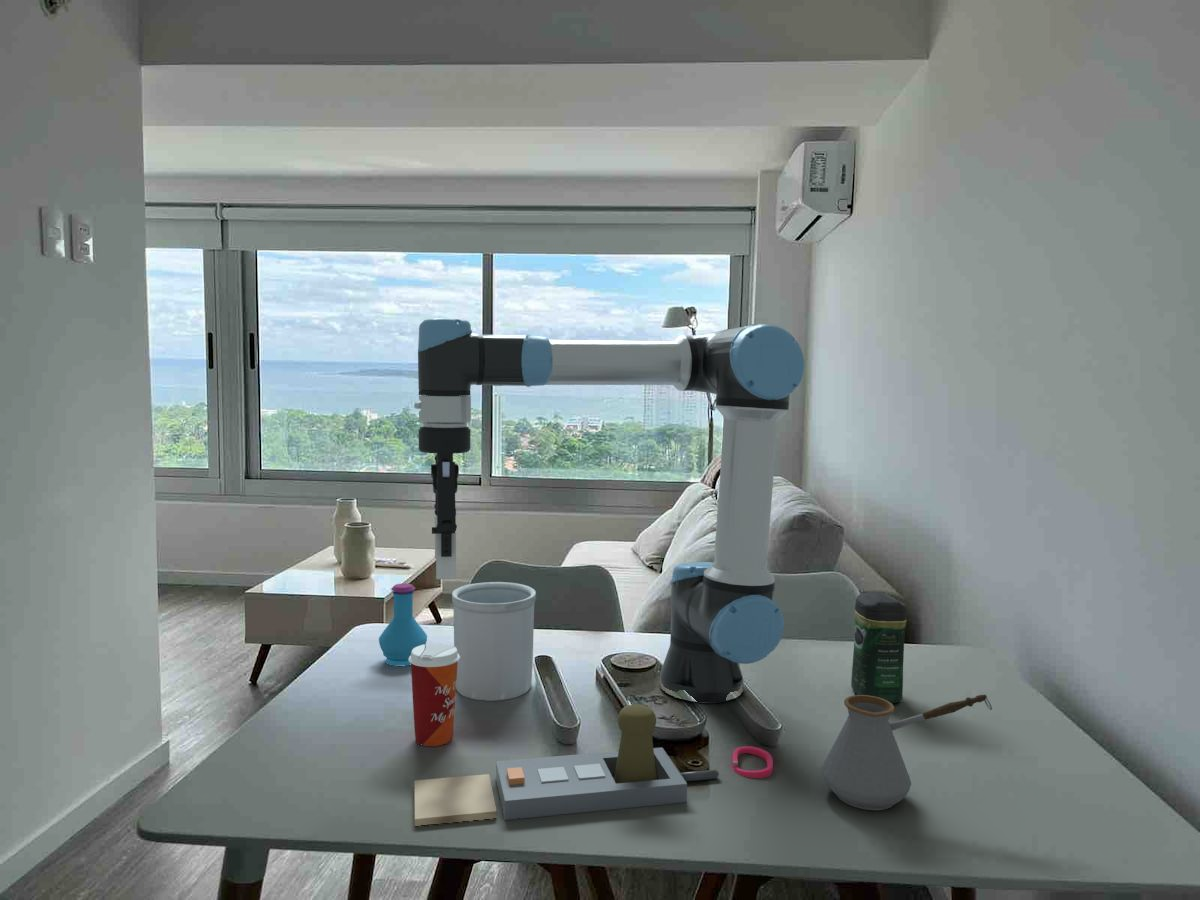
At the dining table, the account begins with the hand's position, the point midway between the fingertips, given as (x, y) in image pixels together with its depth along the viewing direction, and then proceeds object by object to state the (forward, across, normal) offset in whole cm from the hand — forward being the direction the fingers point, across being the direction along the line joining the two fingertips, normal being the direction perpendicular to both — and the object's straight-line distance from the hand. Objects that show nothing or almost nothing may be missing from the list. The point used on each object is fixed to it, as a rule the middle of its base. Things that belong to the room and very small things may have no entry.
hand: (444, 568), depth 122 cm
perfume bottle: (+27, -39, -7) cm, 48 cm away
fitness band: (+28, +14, +44) cm, 54 cm away
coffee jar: (+28, -7, +76) cm, 82 cm away
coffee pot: (+28, +27, +60) cm, 71 cm away
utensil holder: (+27, -22, +9) cm, 36 cm away
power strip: (+27, +18, +22) cm, 39 cm away
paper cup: (+27, -2, -2) cm, 27 cm away
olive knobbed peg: (+27, +18, +25) cm, 41 cm away
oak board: (+27, +18, +1) cm, 32 cm away
